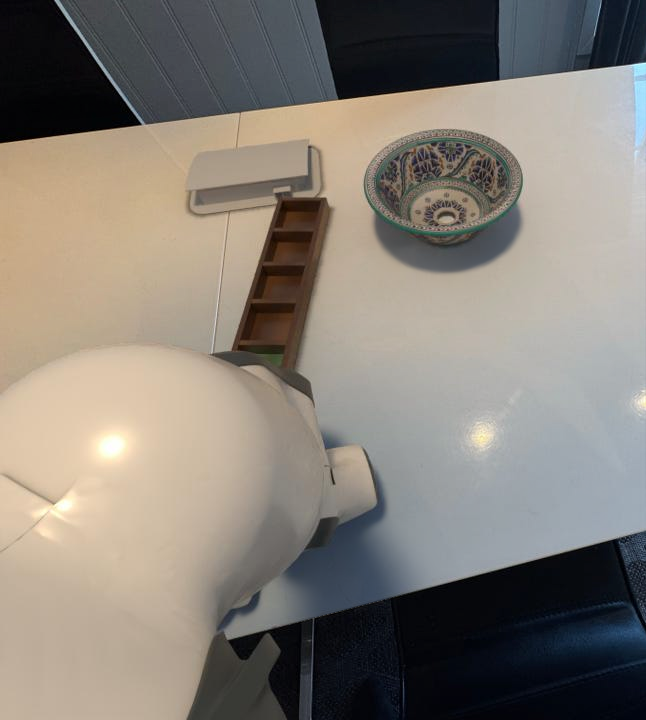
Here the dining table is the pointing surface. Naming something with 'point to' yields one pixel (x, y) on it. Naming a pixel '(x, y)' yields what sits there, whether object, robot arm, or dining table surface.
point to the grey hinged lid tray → (252, 176)
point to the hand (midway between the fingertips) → (94, 564)
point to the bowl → (443, 184)
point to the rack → (284, 281)
